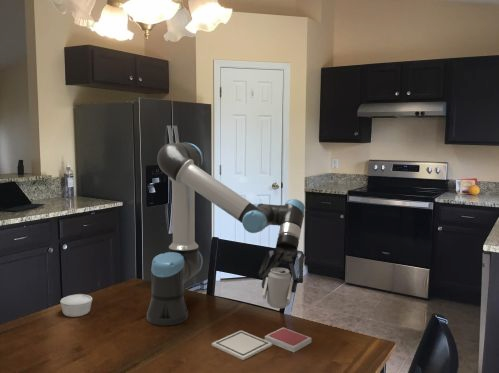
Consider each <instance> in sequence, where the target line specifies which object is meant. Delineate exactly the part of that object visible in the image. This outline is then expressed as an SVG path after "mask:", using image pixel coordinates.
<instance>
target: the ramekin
mask: <svg viewBox="0 0 499 373" xmlns="http://www.w3.org/2000/svg"><path fill="white" fill-rule="evenodd" d="M59 302H60V305H61V310H62V313H63V315H64V316H66V317H70V318H71V317H72V318H75V317H76V318H77V317H82V316H85V315H87V314H89V313H90V312H91V308H92V302H93V297H92V296H91V295H89V294H83V293H77V294H76V293H75V294H70V295H67V296H65V297H62V298H61V299H60V301H59Z"/></svg>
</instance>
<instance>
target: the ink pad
mask: <svg viewBox="0 0 499 373" xmlns="http://www.w3.org/2000/svg"><path fill="white" fill-rule="evenodd" d="M264 340H266V341H268V342H271V343H272V345H274V346H277V347H279V348H282V349H284V350H286V351H289V352H291V353H296V352H298V351H299V350H301V349H303V348H304V347H307V346H308V345H309V344H311V343H312V337H310V336H307V335H305V334H302V333H300V332H296V331H294V330H291V329H288V328H286V327H281V328H279V329H277V330H275V331H273V332H270V333H268V334H267V335H264Z"/></svg>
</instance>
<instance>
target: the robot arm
mask: <svg viewBox="0 0 499 373" xmlns="http://www.w3.org/2000/svg"><path fill="white" fill-rule="evenodd" d="M156 161H157V164H158V167H159V169H160V170H161V172H163V173H164V174H165V175H166V176H167V177H168V179H169V180H170V181H171V183H172V242H171V244H170V245H168V252H164V253H160V254H158V255H156V256H155V257H153V259H152V261H151V269H150V270H151V299H150V301H149V302H150V303H149V306H148V309H147V311H146V320H147V322H149V323H150V324H152V325H156V326H165V327H166V326H175V325H179V324H182V323H184V322H185V321H187V320H188V317H189V310H188V307H187V304H186V300H185V298H184V284H185V283H186V282H187V281H189V280H190V279H192V278H194V277H195V276H196V275H198V273H199V272H200V271H201V269H202V268H203V267H202V266H203V265H204V264H203V261H204V260H203V255H202V254H201V252H200V250H199V244H198V243H197V242H196V241H195V239H196V238H195V234H196V233H195V232H196V230H195V227H196V226H195V222H196V221H195V220H196V219H195V211H196V210H195V204H196V203H195V196H196V194H195V192H196V193H197V194H199V195H201V196H202V198H205V199H206V200H208V201H209V202H211V203H212V204H214V205H215V206H216V207H218V208H220V209H221V210H223V211H224V212H225V213H226V214H228V215H229V216H231V217H232V218H234V219H236V220H237V221H238V222H240V223H241V224H242V227H243V229H244V230H245V231H247V233H250V234H256V233H259V232H262V231H263V230H265V228H267V227H269V226H278V227H279V226H280V228H279V231H278V234H277V239H276V244H275V248H274V249H273V250H269V249H265V255H264V258H263V260H262V263H261V266H260V268H259V271H258V275H259V278H260V279H262V281H261V288H262V289H263V290H262V295H261V296H262V298H263V300H267V293H268V274H269V273H270V272H271V269H272V268H278V266H279V265H280V264H286V265H289V268H290V272H291V273H290V274H291V282H290V286H289V292H288V297H287V300H288V303H290V304H291V300H292V295H293V293H296V291H297V286H298V284H303V283H304V262H305V260H306V255H305V253H298V250H299V244H300V239H301V232H302V226H303V222H304V218H305V209H306V208H305V207H306V206H305V204H304V202H302V201H301V200H299V199H297V198H291V199H288V200H286V202H285V204H283V205H282V204H279V205H278V204H270V203H269V204H268V203H251V201H249V200H248V199H246V198H244V197H243V196H242V195H240V194H238V193H237V192H236V191H234V190H233V189H231V188H229V187H228V186H227V185H225V184H224V183H223V182H221V181H219V180H218V179H216V178H215V177H213V176H212V175H210V174H209V173H207V172H206V171H204V170H203V169H202V168H201V166H202V165H203V161H204V157H203V153H202V151H201V149H200V148H199V147H198V146H197V145H195V144H193V143H190V142H171V143H170V142H169V143H167V144H165V145H162V147H161V148H160V149H159V151H158V154H157V160H156ZM273 255H274V258H273V261H272V262H271V264H270V265H269V263H270V260H271V258H272V257H273ZM296 258H297V260H298V277H297V275H296V270H295V266H294V260H296ZM268 266H269V267H268ZM267 267H268V268H267Z"/></svg>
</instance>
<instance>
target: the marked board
mask: <svg viewBox="0 0 499 373" xmlns="http://www.w3.org/2000/svg"><path fill="white" fill-rule="evenodd" d="M211 346H212V347H214V348H217V349H219V350H220V351H223V352H225V353H227V354H229V355H231V356H234V357H236V358H237V359H239V360H242V361H245V360H247V359H248V358H251V357H252V356H253V357H254V355H257V354H258V353H260V352H262V351H264V350H266V349H268V348H270V347H272V346H273V344H272V343H271V342H268V341H266V340H265V339H264V338H260V337H258V336H256V335H253V334H251V333H248V332H246V331H244V330H238V331H236V332H234V333H232V334H230V335H229V334H228V335H226V336H225V337H223V338H220V339H218V340H215V341H213V342H211Z"/></svg>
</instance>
